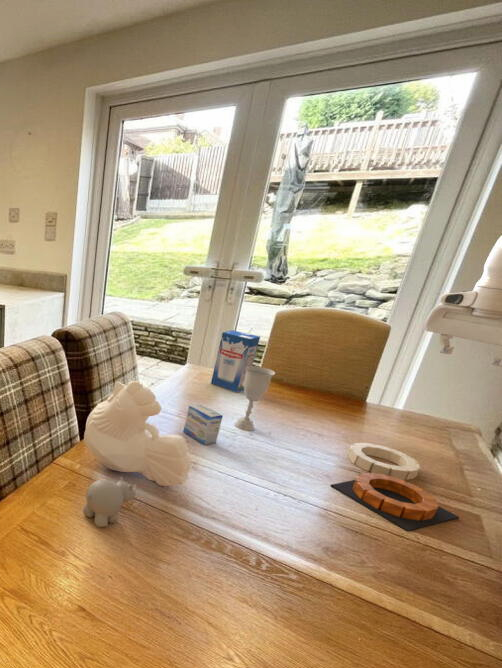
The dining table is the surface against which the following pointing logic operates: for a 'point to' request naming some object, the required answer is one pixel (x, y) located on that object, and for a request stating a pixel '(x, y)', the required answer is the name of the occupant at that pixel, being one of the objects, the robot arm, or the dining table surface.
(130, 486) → the toy rhinoceros
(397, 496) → the mat
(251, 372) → the chalice
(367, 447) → the bottom ring
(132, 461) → the decorative rooster
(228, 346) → the milk carton
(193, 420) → the medicine box
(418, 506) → the top ring
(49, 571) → the dining table surface
